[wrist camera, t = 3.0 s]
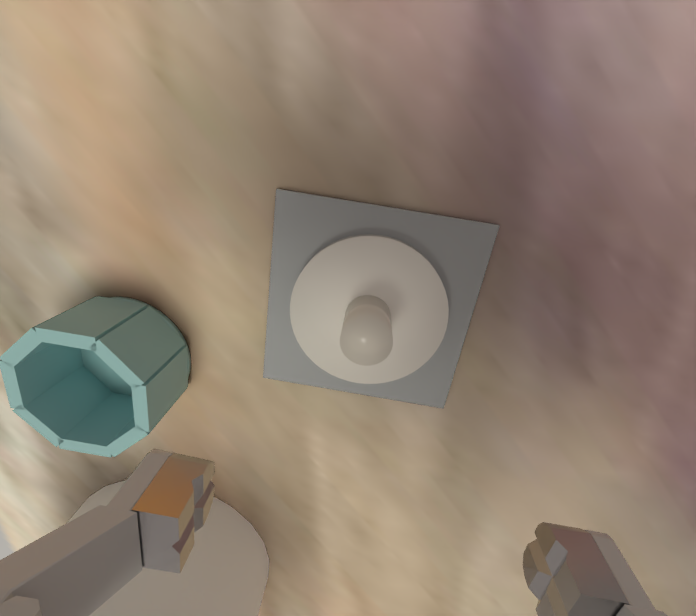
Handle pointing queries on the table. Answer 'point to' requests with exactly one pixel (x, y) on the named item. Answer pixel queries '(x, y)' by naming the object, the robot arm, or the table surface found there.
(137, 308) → the cup
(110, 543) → the robot arm
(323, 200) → the mat
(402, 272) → the lid
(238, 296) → the table surface
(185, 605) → the cylinder
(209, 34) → the table surface
